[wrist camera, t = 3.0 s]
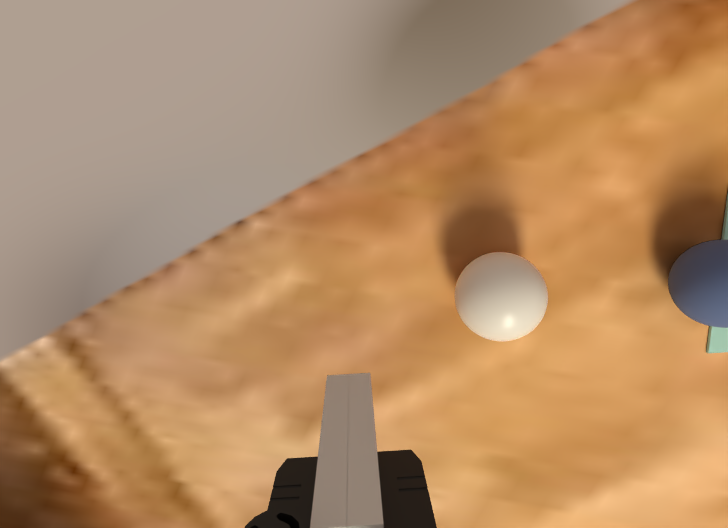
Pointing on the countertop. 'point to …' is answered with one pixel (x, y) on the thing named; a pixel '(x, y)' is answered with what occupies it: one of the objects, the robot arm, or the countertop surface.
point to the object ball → (702, 283)
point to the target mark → (719, 336)
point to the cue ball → (501, 296)
